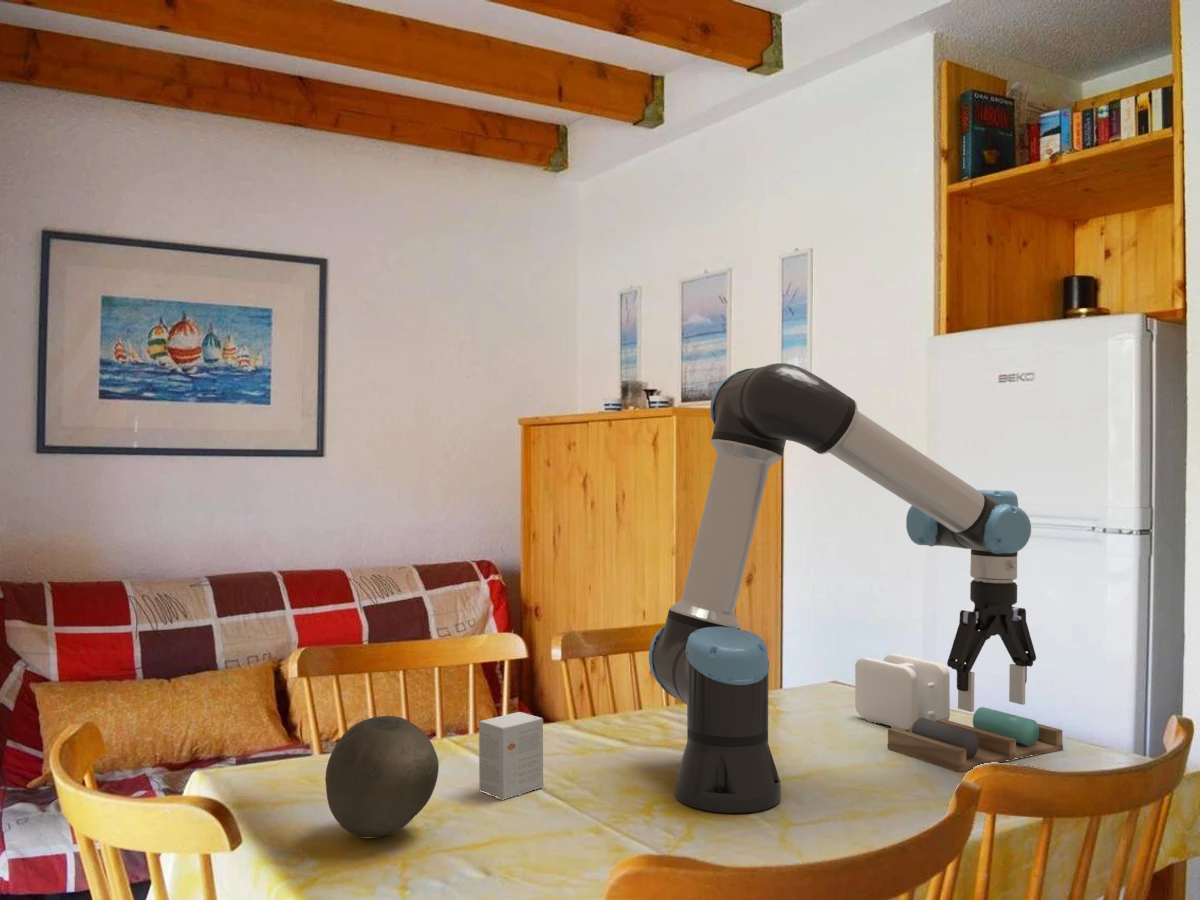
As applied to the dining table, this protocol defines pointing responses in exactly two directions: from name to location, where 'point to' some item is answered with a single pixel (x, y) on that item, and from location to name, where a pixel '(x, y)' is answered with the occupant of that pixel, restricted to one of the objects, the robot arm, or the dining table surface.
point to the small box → (511, 754)
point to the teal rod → (1007, 725)
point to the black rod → (947, 735)
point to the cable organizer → (901, 690)
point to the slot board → (988, 750)
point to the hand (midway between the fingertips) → (991, 706)
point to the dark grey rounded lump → (380, 776)
